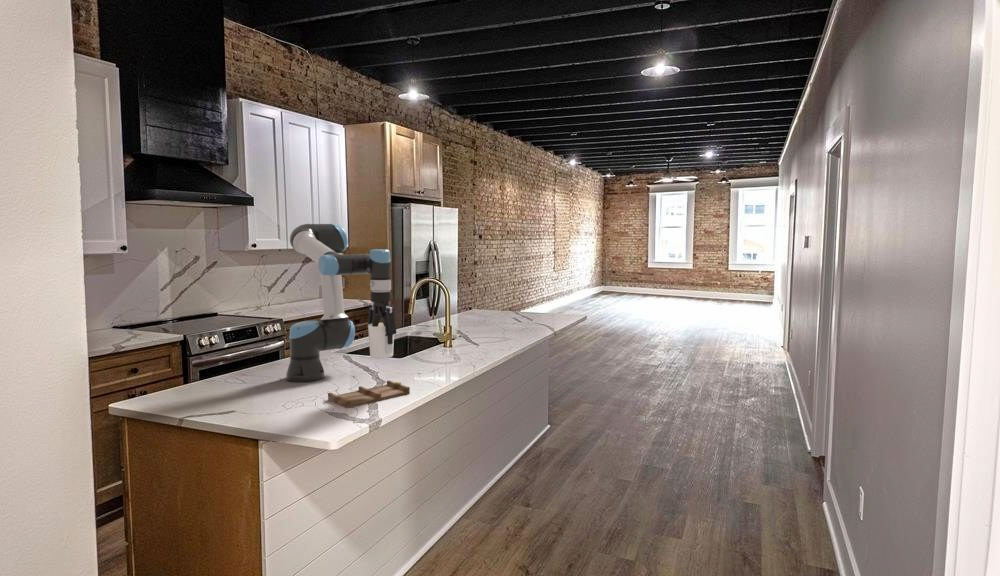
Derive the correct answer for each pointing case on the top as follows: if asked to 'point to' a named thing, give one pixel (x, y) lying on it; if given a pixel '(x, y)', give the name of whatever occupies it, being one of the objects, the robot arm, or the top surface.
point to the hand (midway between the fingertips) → (381, 350)
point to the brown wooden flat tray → (369, 394)
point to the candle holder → (378, 341)
